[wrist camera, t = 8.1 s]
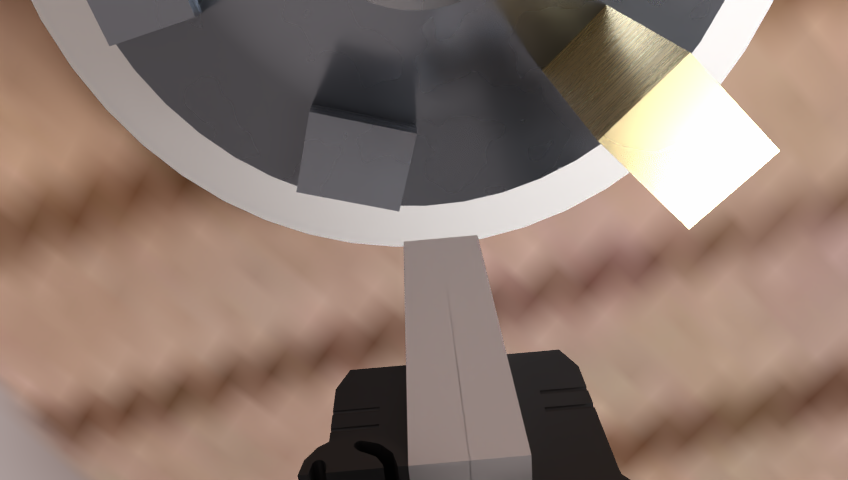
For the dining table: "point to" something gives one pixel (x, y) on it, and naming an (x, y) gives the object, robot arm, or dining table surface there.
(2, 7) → the dining table surface
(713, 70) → the housing plate
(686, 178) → the grey round piece
